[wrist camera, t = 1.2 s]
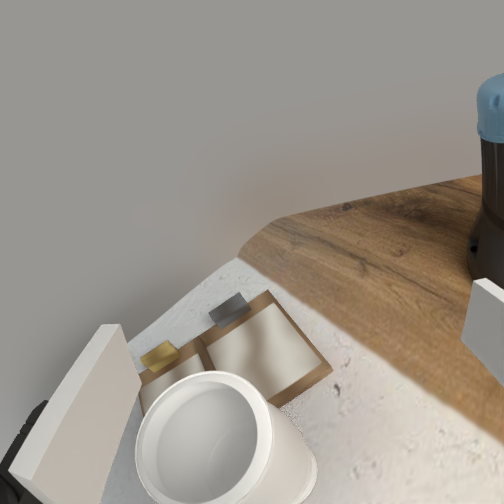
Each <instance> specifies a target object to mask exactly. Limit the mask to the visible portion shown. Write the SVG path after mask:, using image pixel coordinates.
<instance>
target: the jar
mask: <svg viewBox="0 0 504 504" xmlns="http://www.w3.org/2000/svg"><path fill="white" fill-rule="evenodd" d="M135 463H136V469H137V473H138V476H139V478H140V481H141V483H142V485H143V487H144V488H145V490H146V491H147V493H148V494H149V495H150V496H151V497H152V498H153V499H154V500H155V501H156V502H157V503H158V504H300V503H301V502H302V501H304V500H305V499H306V498H307V497H308V495H309V494H310V493H311V491H312V490H313V488H314V486H315V483H316V480H317V473H318V469H317V463H316V459H315V457H314V455H313V453H312V452H311V450H310V449H309V448H308V447H307V445H306V443H305V441H304V439H303V437H302V435H301V433H300V431H299V430H298V428H297V427H296V426H295V424H294V423H293V422H292V421H291V420H290V419H289V418H288V417H287V416H286V415H285V414H284V413H283V412H282V411H280V410H279V409H278V408H276V407H275V406H274V405H272V404H270V403H269V402H267V401H266V400H265V398H264V397H263V396H262V394H261V393H260V392H259V391H258V390H257V389H256V388H255V387H254V386H253V385H252V384H251V383H250V382H248V381H247V380H245V379H244V378H242V377H240V376H238V375H235V374H233V373H229V372H224V371H205V372H200V373H196V374H193V375H190V376H188V377H185V378H183V379H181V380H179V381H178V382H176V383H175V384H173V385H172V386H170V387H169V388H168V389H166V390H165V391H164V392H163V393H162V394H161V395H160V396H159V397H158V398H157V399H156V400H155V402H154V403H153V404H152V405H151V407H150V408H149V410H148V411H147V413H146V415H145V417H144V419H143V421H142V423H141V425H140V428H139V431H138V434H137V439H136V445H135Z"/></svg>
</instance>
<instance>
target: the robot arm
mask: <svg viewBox="0 0 504 504" xmlns="http://www.w3.org/2000/svg"><path fill="white" fill-rule="evenodd" d="M477 109H478V124H477V130H478V134H479V135H480V138H481V155H482V205H481V207H480V210H479V212H478V215H477V217H476V220H475V222H474V224H473V227H472V229H471V231H470V234H469V238H468V245H467V264H468V268H469V271H470V273H471V275H472V277H473V279H474V281H473V285H472V290H471V296H470V301H469V305H468V310H467V315H466V319H465V323H464V327H463V331H462V335H461V339H460V340H461V341H462V342H463V343H464V344H465V345H466V346H467V347H468V348H469V349H470V351H471V352H472V353H473V354H474V355H475V356H476V357H477V358H478V359H479V360H480V361H481V362H482V364H483V365H484V366H485V367H486V368H487V369H488V370H489V371H490V372H491V374H492V375H493V376H494V377H495V378H496V379H497V380H498V382H499V383H500V384H501V385H502V386H503V387H504V73H502V74H499V75H496V76H494V77H491V78H489V79H488V80H486V81H485V82H484V83H483V84H482V85H481V87H480V88H479V90H478V93H477ZM141 385H142V382H141V380H140V377H139V375H138V372H137V370H136V367H135V364H134V362H133V359H132V356H131V354H130V351H129V348H128V345H127V342H126V339H125V336H124V334H123V331H122V328H121V324H103V325H101V326H100V328H99V329H98V330H97V332H96V333H95V335H94V336H93V337H92V339H91V340H90V342H89V343H88V344H87V346H86V347H85V349H84V350H83V351H82V353H81V354H80V356H79V357H78V359H77V360H76V361H75V363H74V364H73V366H72V367H71V369H70V370H69V372H68V373H67V375H66V376H65V378H64V379H63V381H62V382H61V384H60V385H59V387H58V388H57V390H56V391H55V393H54V394H53V396H52V397H51V399H50V400H49V401H47V400H44V401H43V402H42V403H41V404H40V405H39V406H37V407H36V408H35V409H34V410H33V411H32V412H31V414H30V415H29V417H28V419H27V420H26V424H24V425H23V427H22V428H21V430H20V434H18V435H17V436H16V438H15V439H14V441H13V443H12V444H11V446H10V448H9V450H8V451H7V453H6V455H5V457H4V458H3V460H2V462H1V463H0V504H100V501H101V498H102V494H103V491H104V488H105V485H106V482H107V479H108V476H109V473H110V470H111V467H112V464H113V461H114V458H115V455H116V453H117V450H118V447H119V444H120V441H121V438H122V436H123V433H124V430H125V427H126V425H127V422H128V419H129V417H130V414H131V411H132V408H133V406H134V403H135V401H136V398H137V395H138V393H139V390H140V388H141Z"/></svg>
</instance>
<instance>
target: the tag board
mask: <svg viewBox="0 0 504 504" xmlns="http://www.w3.org/2000/svg"><path fill="white" fill-rule="evenodd" d="M209 315H210V317H211V318H212V319H213V320H214V322H215V323H216V325H215V326H213V327H212V328H210V329H209V330H207V331H206V332H204V333H203V334H201V335H200V336H198V337H196V338H195V339H193V340H192V341H190V342H189V343H187V344H186V345H184V346H183V347H181V348H179V349H177V348H175V347H174V346H173V345H172V344H171V343H170V342H169V341H168V340H167V341H165V342H164V343H162V344H161V345H159V346H157V347H156V348H154V349H153V350H151V351H150V352H148V353H147V354H145V355H144V356H142V357H140V359H141V363H142V364H143V365H145V366H146V367H147V368H148V369H146V370H145V371H143V372H142V373H140V374H138V375H139V377H140V380H141V382H142V385H141V388H140V390H139V393H138V394H139V399H140V404H141V408H142V413H143V418H144V417H145V415H146V413H147V411H148V410H149V408H150V407H151V405H152V404H153V403H154V402H155V400H156V399H157V398H158V397H159V396H160V395H161V394H162V393H163V392H164V391H165V390H166V389H168V388H169V387H170V386H172V385H173V384H175V383H176V382H178V381H179V380H181V379H183V378H185V377H188V376H190V375H193V374H196V373H200V372H205V371H224V372H229V373H233V374H235V375H238V376H240V377H242V378H244V379H245V380H247V381H248V382H250V383H251V384H252V385H253V386H254V387H255V388H256V389H257V390H258V391H259V392H260V393H261V394H262V396H263V397H264V398H265V400H266V401H267V402H269V403H270V404H272V405H274V406H275V407H276V408H280V407H282V406H283V405H285V404H286V403H288V402H289V401H291V400H292V399H294V398H295V397H297V396H298V395H300V394H301V393H303V392H304V391H306V390H307V389H309V388H310V387H311V386H313V385H314V384H316V383H317V382H319V381H320V380H321V379H323V378H324V377H325V376H327V375H328V374H330V373H331V372H332V371H333V369H332V367H331V366H330V364H329V363H328V362H327V361H326V360H325V358H324V357H323V356H322V355H321V354H320V352H319V351H318V350H317V349H316V348H315V346H314V345H313V344H312V343H311V342H310V340H309V339H308V338H307V337H306V335H305V334H304V333H303V332H302V331H301V329H300V328H299V327H298V326H297V325H296V323H295V322H294V321H293V320H292V318H291V317H290V316H289V315H288V314H287V312H286V311H285V310H284V309H283V307H282V306H281V305H280V304H279V303H278V301H277V300H276V299H275V298H274V296H273V295H272V294H271V293H270V292H269V290H266V291H265V292H263V293H262V294H261V295H259V296H258V297H256V298H255V299H253V300H252V301H250V302H249V303H247V302H246V301H245V299H244V298H243V297H242V295H241V294H240V292H239V293H237V294H236V295H234V296H233V297H231V298H230V299H228V300H227V301H225V302H224V303H222V304H221V305H219V306H218V307H216V308H215V309H213V310H212V311H210V312H209Z"/></svg>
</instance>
